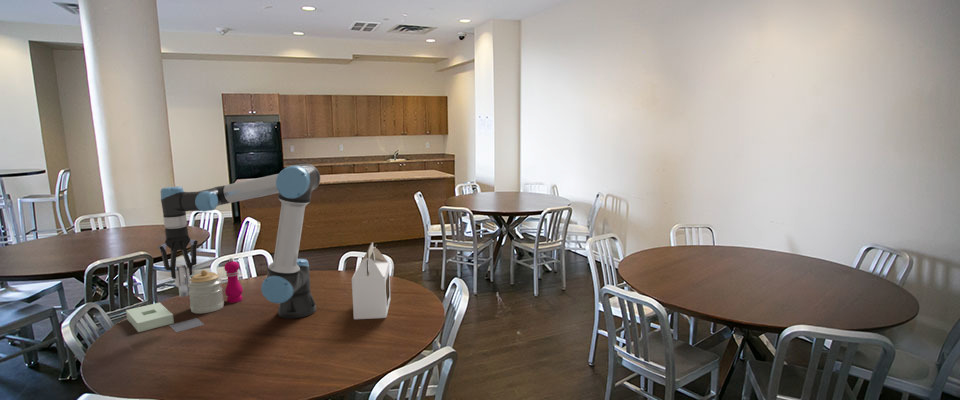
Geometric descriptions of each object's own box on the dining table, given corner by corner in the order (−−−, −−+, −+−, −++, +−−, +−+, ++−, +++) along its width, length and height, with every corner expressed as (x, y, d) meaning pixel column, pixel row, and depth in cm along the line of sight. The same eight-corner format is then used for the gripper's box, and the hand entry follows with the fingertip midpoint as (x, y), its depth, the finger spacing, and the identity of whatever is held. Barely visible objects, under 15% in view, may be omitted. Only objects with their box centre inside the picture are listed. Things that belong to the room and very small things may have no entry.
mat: (204, 325, 196) (204, 324, 196) (176, 333, 189) (176, 332, 189) (196, 318, 203) (196, 317, 203) (169, 326, 196) (168, 325, 196)
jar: (194, 317, 205) (190, 276, 202) (187, 308, 215) (183, 269, 212) (228, 309, 213) (224, 270, 211) (220, 301, 223) (216, 263, 220)
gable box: (386, 318, 201) (383, 252, 197) (353, 319, 200) (350, 253, 196) (390, 299, 223) (388, 239, 219) (361, 300, 222) (358, 240, 218)
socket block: (174, 323, 198) (172, 314, 197) (138, 333, 189) (137, 323, 189) (160, 311, 212) (159, 302, 211) (127, 319, 203) (126, 310, 202)
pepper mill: (236, 303, 220) (232, 260, 217) (222, 302, 221) (218, 259, 218) (247, 298, 227) (243, 256, 224) (233, 297, 228) (229, 255, 225)
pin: (190, 295, 194) (186, 265, 192) (181, 297, 192) (177, 267, 190) (187, 293, 196) (184, 264, 194) (178, 295, 194) (175, 266, 192)
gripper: (196, 222, 198) (202, 278, 202) (149, 228, 186) (156, 288, 190) (202, 224, 193) (208, 281, 196) (154, 231, 181) (162, 292, 185)
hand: (183, 284), depth 193 cm, fingers closed on pin, 3 cm apart
